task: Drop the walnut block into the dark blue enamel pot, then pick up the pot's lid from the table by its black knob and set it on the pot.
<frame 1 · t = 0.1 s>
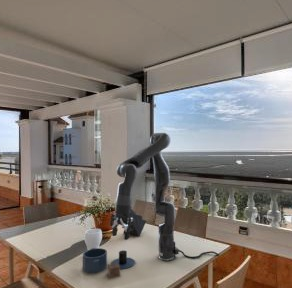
hand: (120, 237, 119), 22 cm above the table, tool pointing down, fingers open, 8 cm apart
white vase: (93, 255, 151), on the table
lid: (122, 263, 139), point 1 cm above the table
block: (113, 275, 127), on the table
pot: (95, 268, 134), on the table
decorative tree: (131, 236, 185), on the table
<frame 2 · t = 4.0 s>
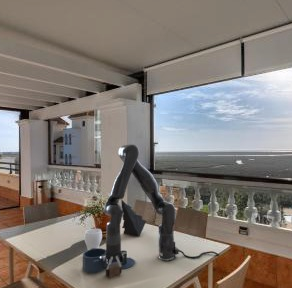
hand: (113, 274, 127), 0 cm above the table, tool pointing down, fingers closed on block, 5 cm apart
block: (113, 275, 127), on the table, touching gripper
everything else where it was.
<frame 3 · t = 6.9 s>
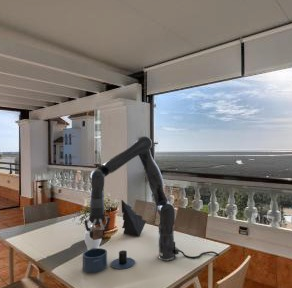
hand: (97, 237, 133), 18 cm above the table, tool pointing down, fingers closed on block, 5 cm apart
block: (97, 237, 133), point 17 cm above the table, touching gripper
everything else where it was.
when the fingers open (9 cm above the table, at t = 9.6 s): block drops 8 cm, resting on pot.
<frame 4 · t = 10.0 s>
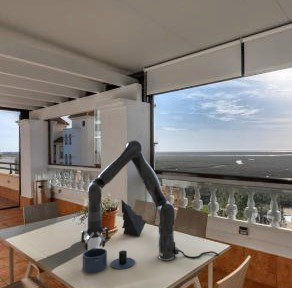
hand: (95, 248, 135), 11 cm above the table, tool pointing down, fingers open, 8 cm apart
block: (95, 267, 134), resting on pot
everything else where it was.
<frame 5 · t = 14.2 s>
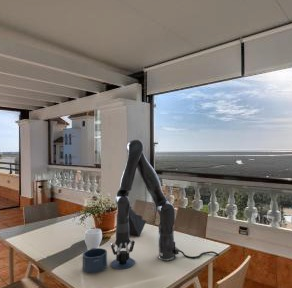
hand: (122, 260, 139), 3 cm above the table, tool pointing down, fingers closed on lid, 4 cm apart
lid: (122, 263, 139), point 1 cm above the table, touching gripper
everything else where it was.
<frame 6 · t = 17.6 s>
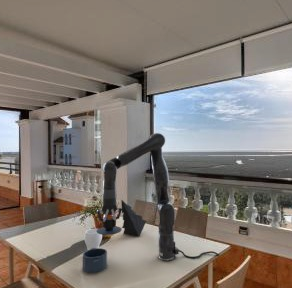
hand: (109, 227, 137), 22 cm above the table, tool pointing down, fingers closed on lid, 4 cm apart
lid: (109, 230, 137), point 20 cm above the table, touching gripper
everything else where it was.
when the fingers open (10 cm above the table, at t = 21.3 s): lid stays where it is, resting on pot.
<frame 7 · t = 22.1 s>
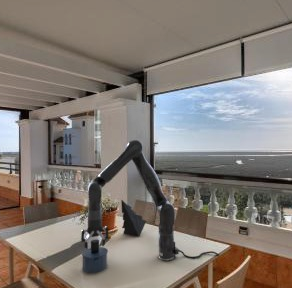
hand: (94, 247, 135), 12 cm above the table, tool pointing down, fingers open, 8 cm apart
lid: (95, 252, 135), point 8 cm above the table, touching pot
everything else where it was.
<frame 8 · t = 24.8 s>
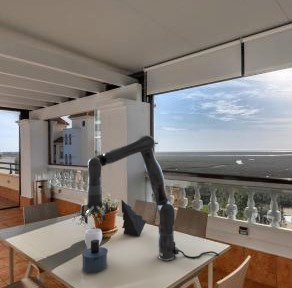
hand: (94, 222, 135), 25 cm above the table, tool pointing down, fingers open, 8 cm apart
nothing on the table moved.
at the end: block inside the target area in the pot (0.1 cm from its centre), point 0.5 cm above the pot's base; lid 0.0 cm off-centre on the pot, point 8.5 cm above the pot's base; lid tilted 0° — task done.
